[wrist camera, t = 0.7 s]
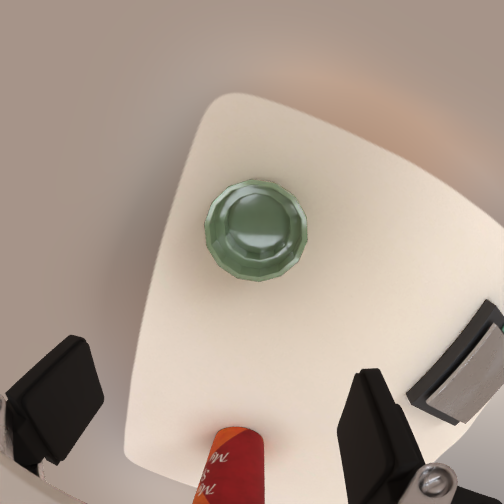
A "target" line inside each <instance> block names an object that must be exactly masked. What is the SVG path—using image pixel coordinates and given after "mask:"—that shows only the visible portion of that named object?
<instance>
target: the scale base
mask: <svg viewBox="0 0 504 504" xmlns="http://www.w3.org/2000/svg"><path fill="white" fill-rule="evenodd" d="M493 323H495V324H496V325H497V326H498V328H499V329H500V330H501V331H502V333H503V334H504V316H503V315H502V313H501V312H500V310H499V309H498V308H497V306H496V305H494V304H493V303H491V302H490V301H489V300H487V299H486V300H485V302H484V303H483V305H482V306H481V308H480V309H479V311H478V312H477V313H476V315H475V316H474V317H473V319H472V320H471V321H470V323H469V324H468V325H467V327H466V328H465V329H464V331H463V332H462V333H461V334H460V336H459V337H458V338H457V339H456V341H455V342H454V343H453V344H452V345H451V347H450V348H449V349H448V350H447V351H446V352H445V354H444V355H443V356H442V357H441V358H440V359H439V360H438V361H437V363H436V364H435V365H434V366H433V367H432V368H431V369H430V370H429V371H428V372H427V373H426V374H425V375H424V376H423V377H422V378H421V380H420V381H419V382H418V383H417V384H416V385H415V386H413V387H412V388H411V389H410V390H409V391H408V392H407V393H406V395H407V397H408V399H409V401H410V403H411V405H413V406H415V407H417V408H419V409H421V410H423V411H425V412H427V413H429V414H431V415H433V416H435V417H437V418H439V419H442V420H444V421H446V422H448V423H450V424H452V425H454V426H455V425H457V424H458V423H459V422H460V421H459V420H457V419H455V418H453V417H451V416H449V415H447V414H445V413H443V412H441V411H439V410H437V409H435V408H434V407H432V406H430V405H428V404H427V403H426V400H427V399H428V398H429V397H430V396H431V395H432V394H433V393H434V392H435V391H436V390H437V389H438V388H439V387H440V386H441V385H442V384H443V383H444V382H445V381H446V380H447V379H448V378H449V377H450V376H451V375H452V373H453V372H454V371H455V370H456V369H457V368H458V367H459V366H460V365H461V363H462V362H463V361H464V360H465V359H466V358H467V356H468V355H469V354H470V353H471V352H472V350H473V349H474V348H475V347H476V345H477V344H478V343H479V342H480V340H481V339H482V338H483V336H484V335H485V334H486V332H487V331H488V330H489V328H490V327H491V326H492V324H493Z"/></svg>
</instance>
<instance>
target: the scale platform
mask: <svg viewBox="0 0 504 504" xmlns="http://www.w3.org/2000/svg"><path fill="white" fill-rule="evenodd" d="M503 384H504V334H503V333H502V331H501V330H500V329H499V328H498V326H497V325H496V324H495V323H493V324H492V326H491V327H490V328H489V330H488V331H487V332H486V334H485V335H484V336H483V338H482V339H481V340H480V342H479V343H478V344H477V345H476V347H475V348H474V349H473V350H472V352H471V353H470V354H469V355H468V356H467V358H466V359H465V360H464V361H463V362H462V363H461V365H460V366H459V367H458V368H457V369H456V370H455V371H454V372H453V373H452V375H451V376H450V377H449V378H448V379H447V380H446V381H445V382H444V383H443V384H442V385H441V386H440V387H439V388H438V389H437V390H436V391H435V392H434V393H433V394H432V395H431V396H430V397H429V398H428V399H427V400H426V403H427V404H428V405H430V406H432V407H434V408H435V409H437V410H439V411H441V412H443V413H445V414H447V415H449V416H451V417H453V418H455V419H457V420H459V421H461V422H463V423H465V424H466V423H467V422H468V421H469V420H470V419H471V418H472V417H473V416H474V415H475V414H476V413H477V412H478V411H479V410H480V409H481V408H482V407H483V406H484V405H485V404H486V403H487V402H488V401H489V400H490V398H491V397H492V396H493V395H494V394H495V393H496V392H497V391H498V389H499V388H500V387H501V386H502V385H503Z"/></svg>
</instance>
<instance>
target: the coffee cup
mask: <svg viewBox="0 0 504 504" xmlns="http://www.w3.org/2000/svg"><path fill="white" fill-rule="evenodd" d="M192 504H265V486H264V442H263V439H262V437H261V436H260V435H259V434H258V433H257V432H255V431H253V430H250V429H247V428H242V427H229V428H225V429H222V430H220V431H219V432H218V433H217V434H216V436H215V439H214V442H213V444H212V447H211V450H210V453H209V456H208V459H207V462H206V465H205V468H204V471H203V474H202V477H201V480H200V483H199V486H198V488H197V492H196V494H195V497H194V500H193V503H192Z"/></svg>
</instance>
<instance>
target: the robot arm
mask: <svg viewBox="0 0 504 504" xmlns="http://www.w3.org/2000/svg"><path fill="white" fill-rule="evenodd" d="M6 396H7V397H8V400H7V401H5V399H4V397H3V396H1V395H0V504H87V503H85V502H83V501H80V500H79V499H77V498H74V497H73V496H71V495H69V494H67V493H65V492H63V491H61V490H59V489H57V488H56V487H54V486H52V485H51V484H49V483H47V482H46V480H45V475H44V469H43V463H42V460H43V458H44V457H45V458H46V460H47V461H49V462H51V463H53V464H55V465H56V466H57V465H58V464H59V462H60V461H63V460H64V459H65V458H66V457H67V455H68V454H69V452H70V451H71V449H72V448H73V446H74V445H75V443H76V442H77V440H78V439H79V437H80V436H81V434H82V433H83V432H84V430H85V428H86V427H87V426H88V424H89V423H90V421H91V420H92V418H93V417H94V415H95V414H96V413H97V411H98V410H99V408H100V407H101V406H102V404H103V402H104V395H103V391H102V388H101V385H100V382H99V379H98V376H97V372H96V369H95V366H94V362H93V358H92V355H91V351H90V347H89V344H88V343H87V342H86V340H85V339H84V338H82V337H78V336H74V335H69V336H68V337H67V338H65V339H64V340H63V341H62V342H61V343H60V344H58V345H57V346H56V347H55V348H54V349H53V350H52V351H50V352H49V353H48V354H47V355H46V356H45V357H44V358H43V359H41V360H40V361H39V362H38V363H37V364H36V365H35V366H34V367H33V368H32V369H30V370H29V371H28V372H27V373H26V374H25V375H24V376H23V377H22V378H21V379H20V380H19V381H17V382H16V383H15V384H14V385H13V386H12V387H11V388H10V389H9V390H8V391H7V392H6ZM337 437H338V443H339V448H340V454H341V460H342V466H343V472H344V478H345V484H346V491H347V497H348V504H502V503H501V502H500V501H499V500H497V499H495V498H491V497H488V496H485V495H482V494H479V493H476V492H473V491H470V490H468V489H465V488H462V487H459V486H457V483H458V481H457V476H456V474H455V472H454V471H453V470H452V469H451V468H450V467H449V466H447V465H445V464H442V463H429V464H425V462H424V459H423V457H422V454H421V452H420V449H419V447H418V444H417V442H416V440H415V437H414V435H413V433H412V430H411V428H410V426H409V424H408V421H407V419H406V417H405V414H404V412H403V410H402V408H401V407H400V405H398V404H395V402H394V400H393V397H392V395H391V393H390V391H389V389H388V386H387V384H386V382H385V380H384V378H383V376H382V374H381V371H380V370H379V369H378V368H373V369H362V370H361V371H360V373H356V374H355V376H354V379H353V382H352V385H351V388H350V392H349V395H348V398H347V401H346V404H345V407H344V410H343V413H342V415H341V418H340V421H339V424H338V427H337Z"/></svg>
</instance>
